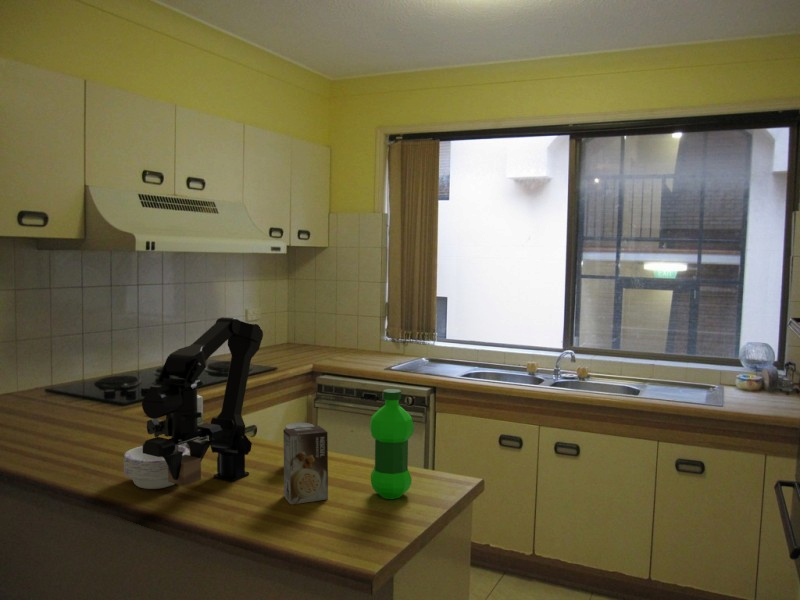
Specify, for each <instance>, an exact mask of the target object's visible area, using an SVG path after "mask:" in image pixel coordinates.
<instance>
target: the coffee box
mask: <svg viewBox="0 0 800 600" xmlns="http://www.w3.org/2000/svg"><path fill="white" fill-rule="evenodd" d="M328 433H329V432H328V431H327V430H326V429H324V427H322V426H320V425H317V426H315V425H314V427H303V428H292V429H285V428H284V429H283V495H284V498H285V499H286V500H287V502H288V503H289V505H291V506H292V505H298V504H305V503H310V502H312V503H313V502H319V501H325V500H329V471H328V470H329V462H328V461H329V456H328V455H329V454H328V452H329V451H328V449H329V448H328V447H329V446H328V445H329V443H328V441H329V439H328Z"/></svg>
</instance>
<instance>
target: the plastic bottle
mask: <svg viewBox="0 0 800 600" xmlns="http://www.w3.org/2000/svg"><path fill="white" fill-rule="evenodd" d="M382 391H383V392H382V393H383V394H382V399H383V400H385V404H384V405H383V406H381V408H379V409H377V411H376V412H374V413H373V414H372V415H371V417H370V421H369V429H370V432H371V436H372V438H373V439H374V467H373V469H372V471H371V473H370V483H371V487H372V489H373V490H374V492H375V493H377V494H378V495H379V497H381V498H383V499H387V500H394V499H399V498H401V497H402V495H404V494H405V493H406V492H407V491H409V489H410V488H411V486H412V476H411V472H410V470H409V469H408V468H409V466H408V465H409V463H408V462H409V439H411V437H412V436H413V433H414V429H415V423H414V421H413V418H412V415H411V414H409V412H407V411H406V410H405V409H404V408H403V407H402V406H401V405H399V404H400V400H401V399H402V391H401V389H398V388H396V389H395V388H386V389H384V390H383V389H382Z"/></svg>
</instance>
